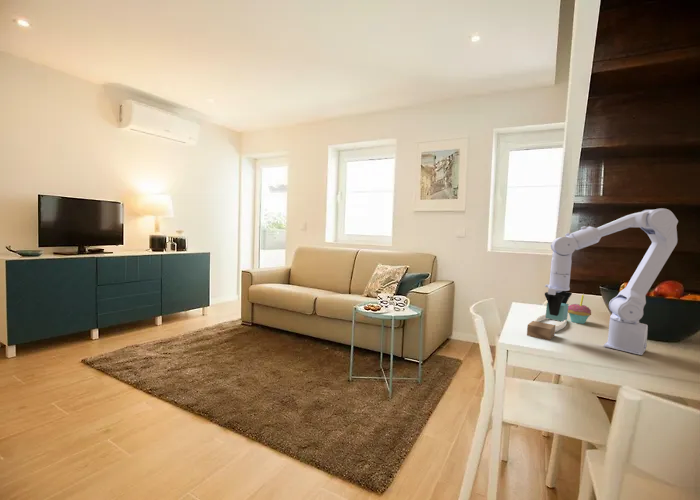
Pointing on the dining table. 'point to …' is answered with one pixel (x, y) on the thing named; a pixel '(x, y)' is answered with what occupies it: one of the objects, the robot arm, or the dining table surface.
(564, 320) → the white curved loop
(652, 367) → the dining table surface
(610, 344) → the robot arm
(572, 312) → the cupcake
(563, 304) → the teal cube
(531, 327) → the walnut block
